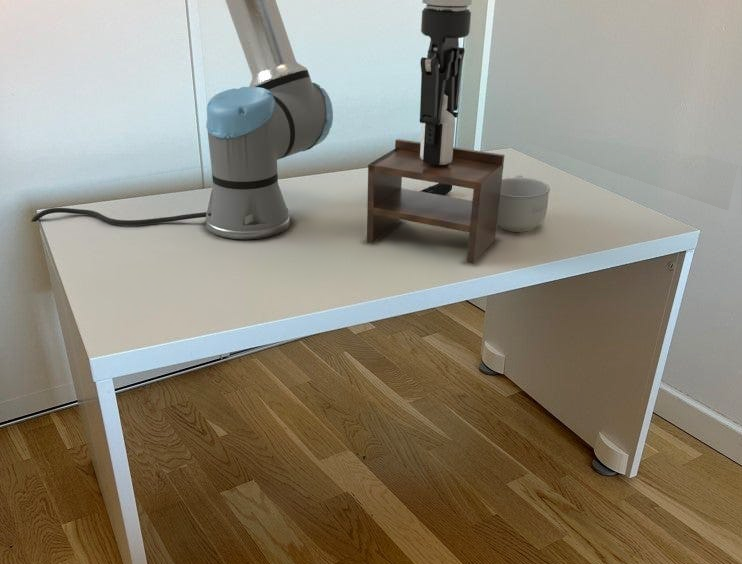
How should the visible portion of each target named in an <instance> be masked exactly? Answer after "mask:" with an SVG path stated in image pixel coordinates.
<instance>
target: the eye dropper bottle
mask: <svg viewBox="0 0 742 564" xmlns="http://www.w3.org/2000/svg"><path fill="white" fill-rule="evenodd" d="M447 101H448V96H447V95H445V94H444V98H443V105H442V113H441V120H440V124H443V125H442V138H441V152H440V164H439V165H446V164H448V163H451V162H452V157H453V147H454V146H455V145H454V144H455V143H454V142H455V132H456V130H455V129H456V118H455V117H454V116H453V115H452V114H451V113H450V112H448V111H447V110H446V109H447ZM424 137H425V123H421V132H420V142H421V146H420V158H421V159H422V160H423V153H424Z"/></svg>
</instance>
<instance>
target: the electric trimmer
mask: <svg viewBox="0 0 742 564" xmlns="http://www.w3.org/2000/svg"><path fill="white" fill-rule="evenodd" d="M419 191H420V192H425V193H431V194H437V195H443V196H447V195H448V194H449V193H450V192H451V191H453V185H447V184H441V183H436V184H433V185H431V186H428V187H425V188H423V189H421V190H419Z"/></svg>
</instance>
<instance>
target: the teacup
mask: <svg viewBox="0 0 742 564" xmlns="http://www.w3.org/2000/svg"><path fill="white" fill-rule="evenodd" d="M550 190H551V187H550V185H549V184H548V183H546V182H545V181H543V180H541V179H535V178H530V177H528V178H527V177H523V175H515V176H514V177H507V178H506V177H505V178H502V183H501V191H500V200H499V209H498V218H497V225H498V227H499V228H500V229H502V230H504V231H507V232H513V233H525V232H529V231H533V230H534V229H535V228H536V227H538V226H539V225H541V224H542V222H544V220H545V219H546V217H547V216H546V215H547V211H548V206H549V205H548V204H549V195H550V192H551V191H550Z"/></svg>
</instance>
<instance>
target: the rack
mask: <svg viewBox="0 0 742 564" xmlns="http://www.w3.org/2000/svg"><path fill="white" fill-rule="evenodd" d="M420 146H421V141H414V140H407V139H402V138H401V139H400V138H397V139H395V141H394V148H393V149H391V150H390V151H388V152H387V153H385V154H383V155H382V156H380V157H378V158H377V159H375V160H373V161H371V162H370V163H368V164H367V202H366V203H367V205H366V207H367V208H366V209H367V211H366V212H367V213H366V243H369V244H374V243H375V242H377V241H378V240H379V239H380V238H381V237H382V236H384V235H386V234H387V233H388V232H390V231H391V230H392V229H393V228H394V227H395V226H397V225H399V223H401V220H402V221H405V222H406V221H407V222H411V223H412V222H413V223H418V224H423V225H428V226H433V227H438V228H442V229H443V228H444V229H449V230H454V231H458V232H465V233H468V244H467V254H466V255H467V256H466V263H467V264H472V265H474V263H476V261H477V260H478V259H479V258H480V257H481V256H482V255H483V254H484V253H485V252H486V251H487V250H488V248H489V247H490V246H491V245H492V244H493V243H494V242H495V241H496V236H497V235H496V234H497V228H498V227H497V225H498V224H497V218H498V209H499V200H500V191H501V183H502V179H503V172H504V165H505V164H504V163H505V157H506V156H505V154H501V153H495V152H489V151H481V150H475V149H467V148H461V147H454V146H453V157H452V162H451V163H448V164H446V165H435V164H429V163H423V160H422V159H421V158H420ZM403 178H407V179H411V180H417V181H423V182H430V183H436V184H438V183H441V184H447V185H452V187H453V186H455V187H458V188H459V187H460V188H465V189H466V188H467V189H471V190H473V191H472V200H470V199H466V198H459V197H455V196H448V195H445V196H443V195H437V194H431V193H425V192H420V191H421V190H412V189H409V188H408V189H407V188H402V184H403V183H402V182H403Z"/></svg>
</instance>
